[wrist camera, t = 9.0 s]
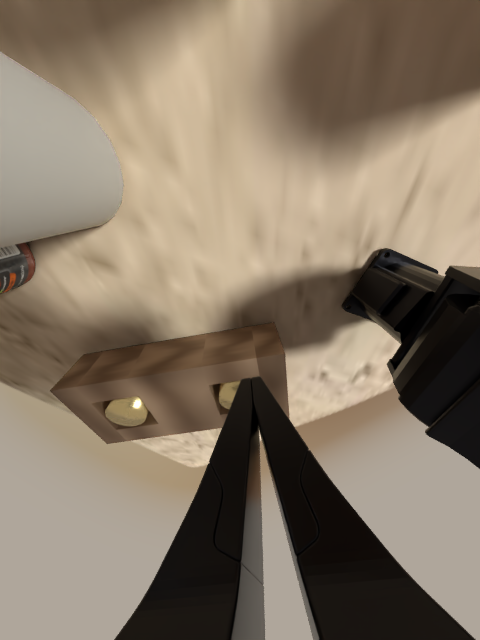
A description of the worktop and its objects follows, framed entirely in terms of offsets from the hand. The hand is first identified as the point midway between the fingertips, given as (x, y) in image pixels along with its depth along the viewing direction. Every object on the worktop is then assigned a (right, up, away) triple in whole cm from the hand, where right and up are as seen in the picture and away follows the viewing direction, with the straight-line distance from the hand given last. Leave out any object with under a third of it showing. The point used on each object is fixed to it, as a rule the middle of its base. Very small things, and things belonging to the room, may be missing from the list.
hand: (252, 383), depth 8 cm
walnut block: (-7, -3, +16) cm, 18 cm away
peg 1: (-13, -5, +16) cm, 21 cm away
